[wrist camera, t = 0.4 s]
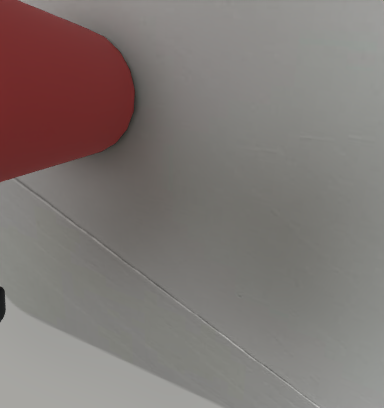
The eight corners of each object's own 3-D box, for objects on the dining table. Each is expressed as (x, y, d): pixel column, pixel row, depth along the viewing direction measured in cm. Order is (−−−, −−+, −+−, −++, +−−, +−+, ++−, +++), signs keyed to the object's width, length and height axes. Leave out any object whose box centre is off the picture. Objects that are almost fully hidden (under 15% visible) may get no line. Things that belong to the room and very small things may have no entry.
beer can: (60, 167, 21) (-185, 246, 9) (12, 58, 19) (-342, -2, 8) (156, 130, 19) (-8, 173, 8) (110, 7, 17) (-173, -164, 6)
